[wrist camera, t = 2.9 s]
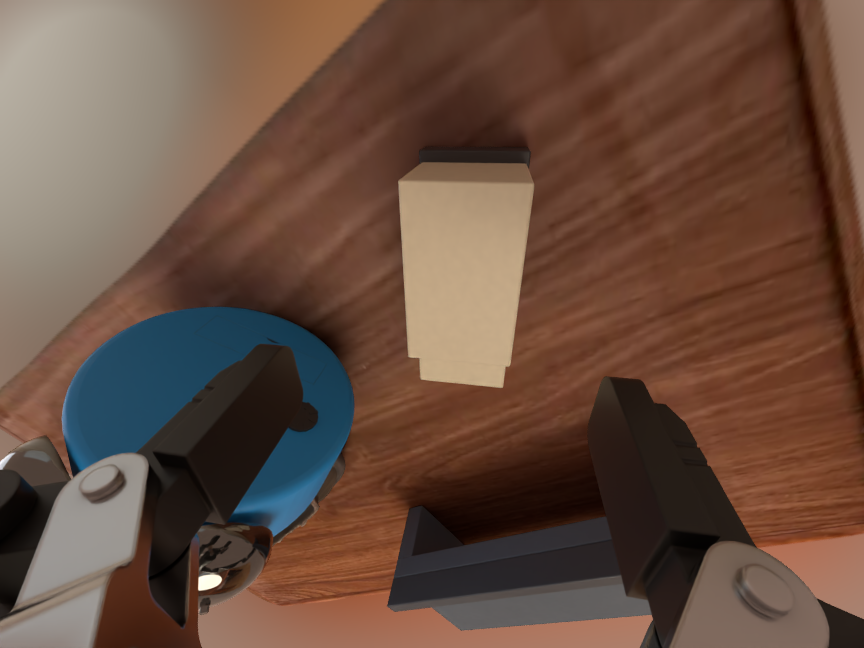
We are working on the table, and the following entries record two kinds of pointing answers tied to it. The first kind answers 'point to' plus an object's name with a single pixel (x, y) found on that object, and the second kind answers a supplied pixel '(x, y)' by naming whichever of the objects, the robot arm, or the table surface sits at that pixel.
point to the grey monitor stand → (511, 575)
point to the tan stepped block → (464, 259)
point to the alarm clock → (176, 386)
